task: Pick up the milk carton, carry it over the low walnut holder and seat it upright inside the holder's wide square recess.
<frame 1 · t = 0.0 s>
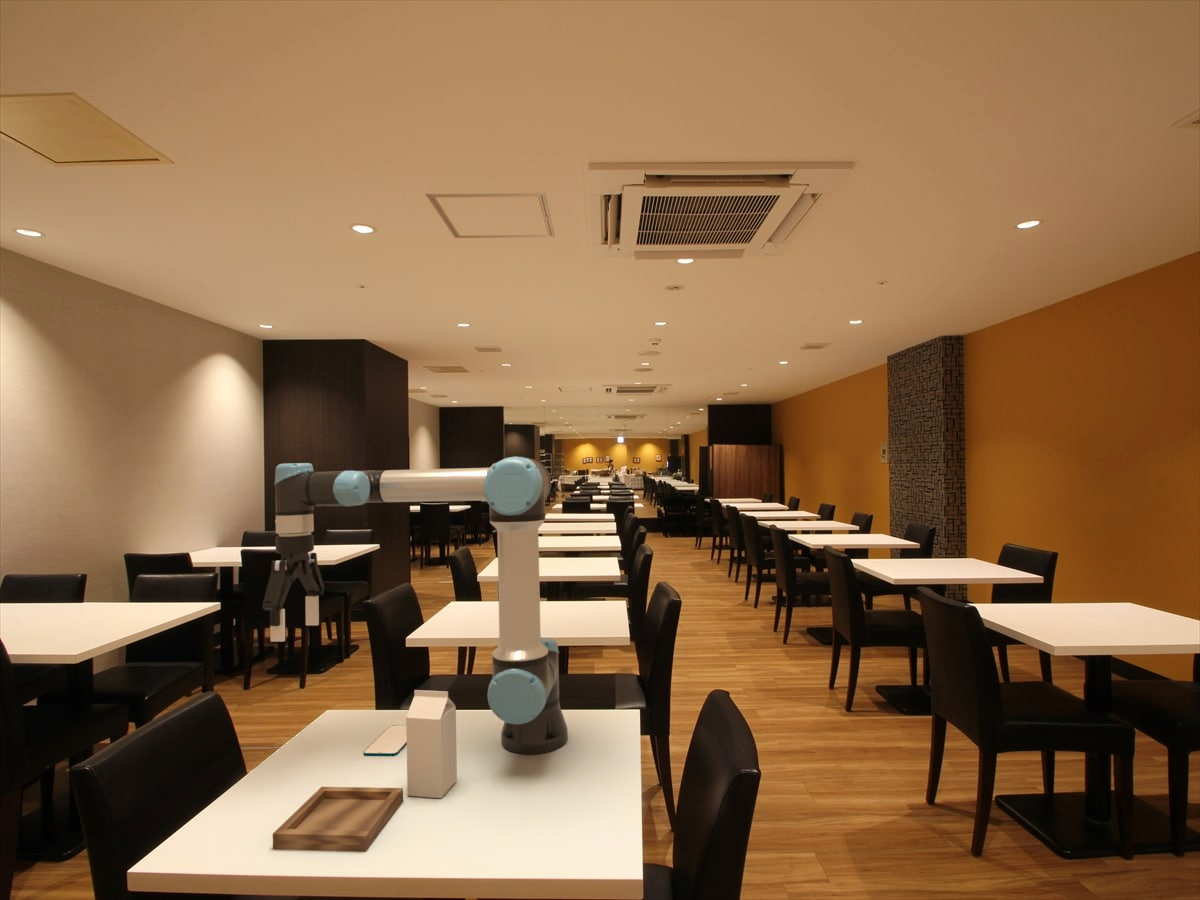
hand: (295, 632, 141), 28 cm above the table, fingers open, 13 cm apart
smartphone: (393, 743, 151), on the table
milk carton: (432, 789, 128), on the table
holder: (342, 823, 116), on the table
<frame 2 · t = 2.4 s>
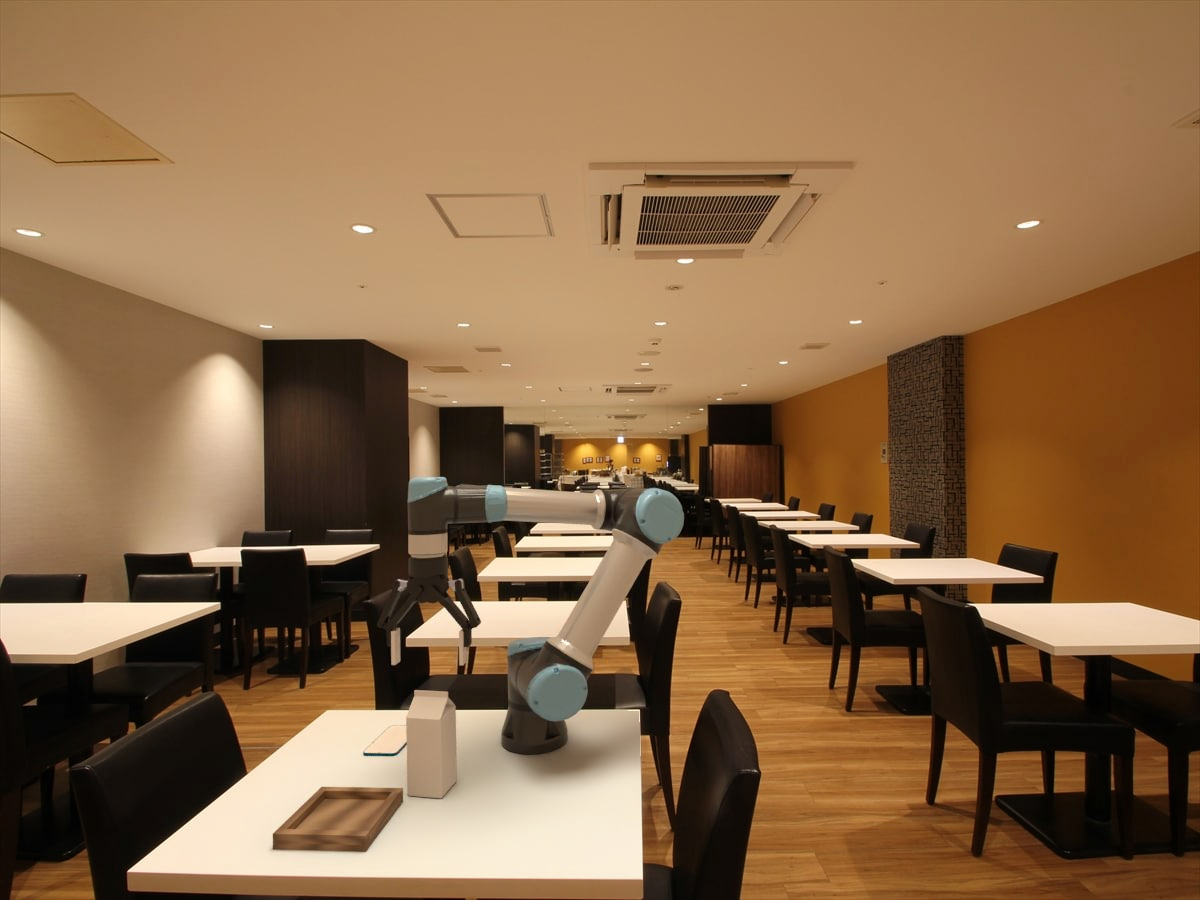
hand: (429, 663, 128), 24 cm above the table, fingers open, 13 cm apart
nothing on the table moved.
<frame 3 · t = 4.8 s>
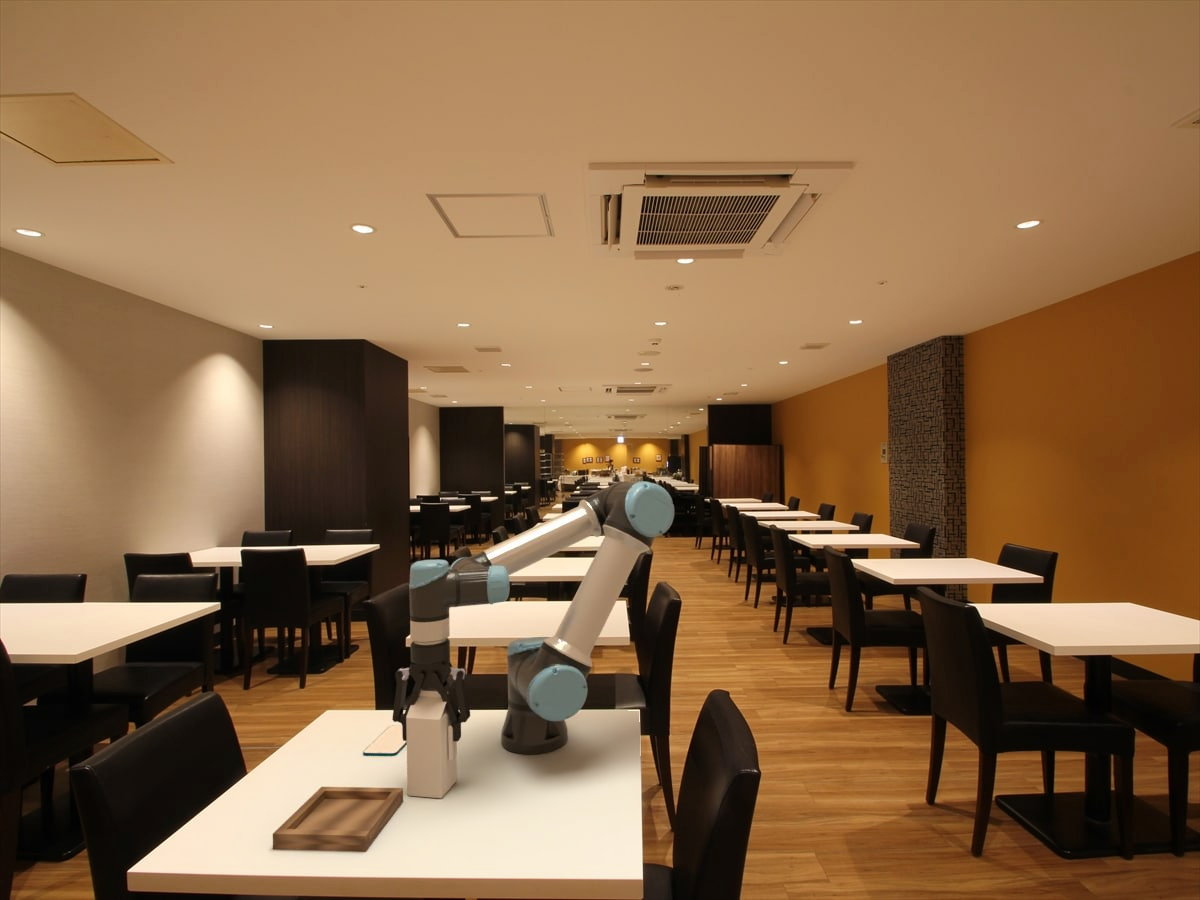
hand: (432, 756, 128), 6 cm above the table, fingers closed on milk carton, 7 cm apart
milk carton: (432, 789, 128), on the table, touching gripper
everything else where it was.
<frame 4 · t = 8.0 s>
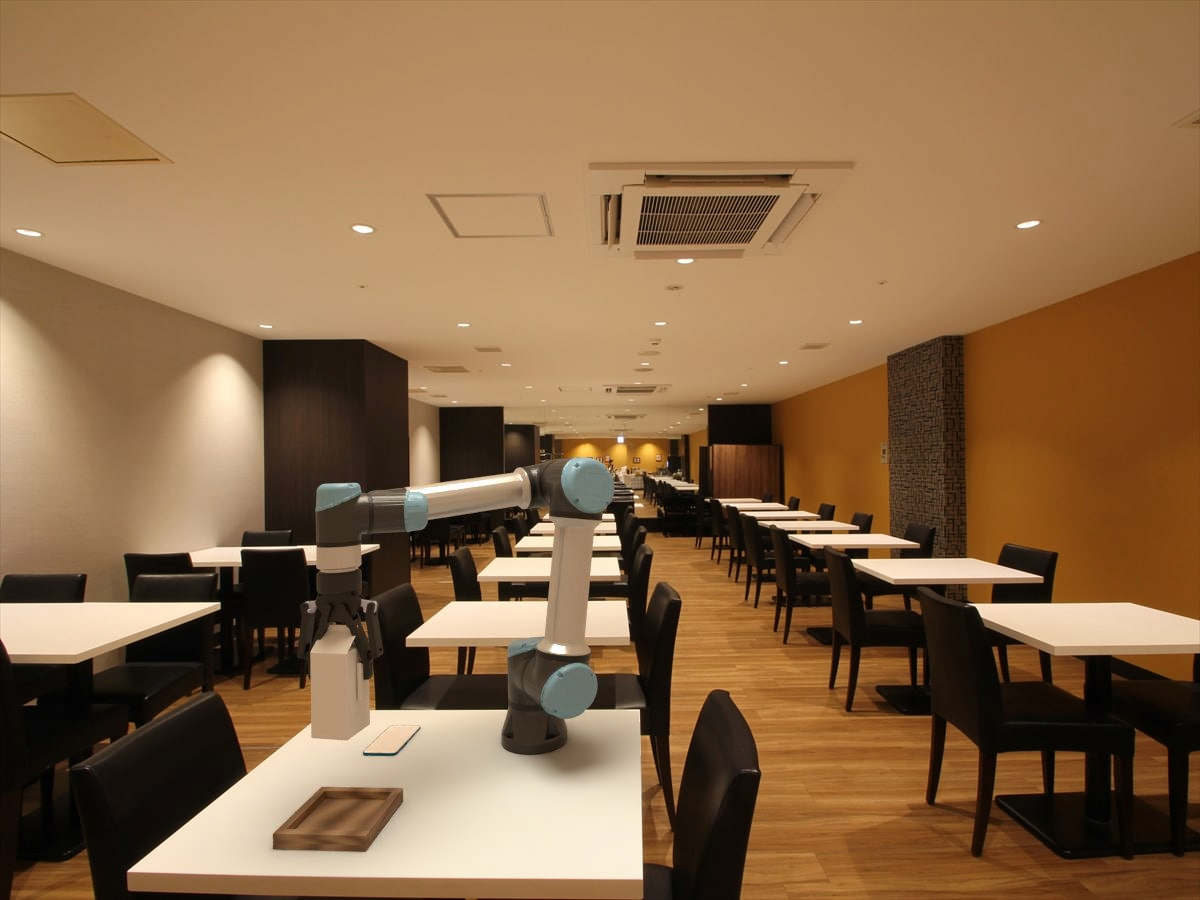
hand: (340, 697, 116), 22 cm above the table, fingers closed on milk carton, 7 cm apart
milk carton: (341, 733, 116), point 16 cm above the table, touching gripper
everything else where it was.
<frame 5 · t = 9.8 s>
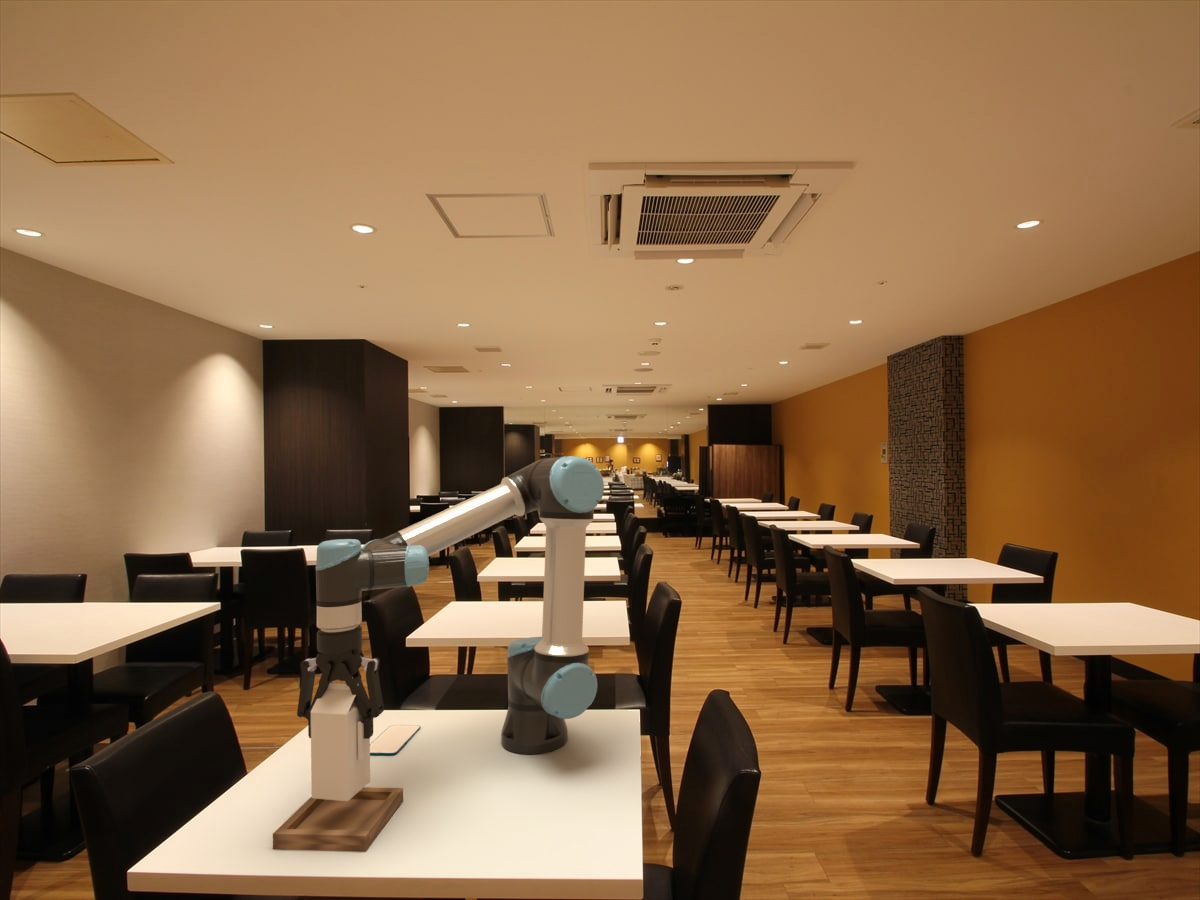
hand: (341, 755, 116), 12 cm above the table, fingers closed on milk carton, 7 cm apart
milk carton: (341, 791, 116), point 6 cm above the table, touching gripper
everything else where it was.
when the fingers open (8 cm above the table, at t = 11.3 s): milk carton stays where it is, resting on holder.
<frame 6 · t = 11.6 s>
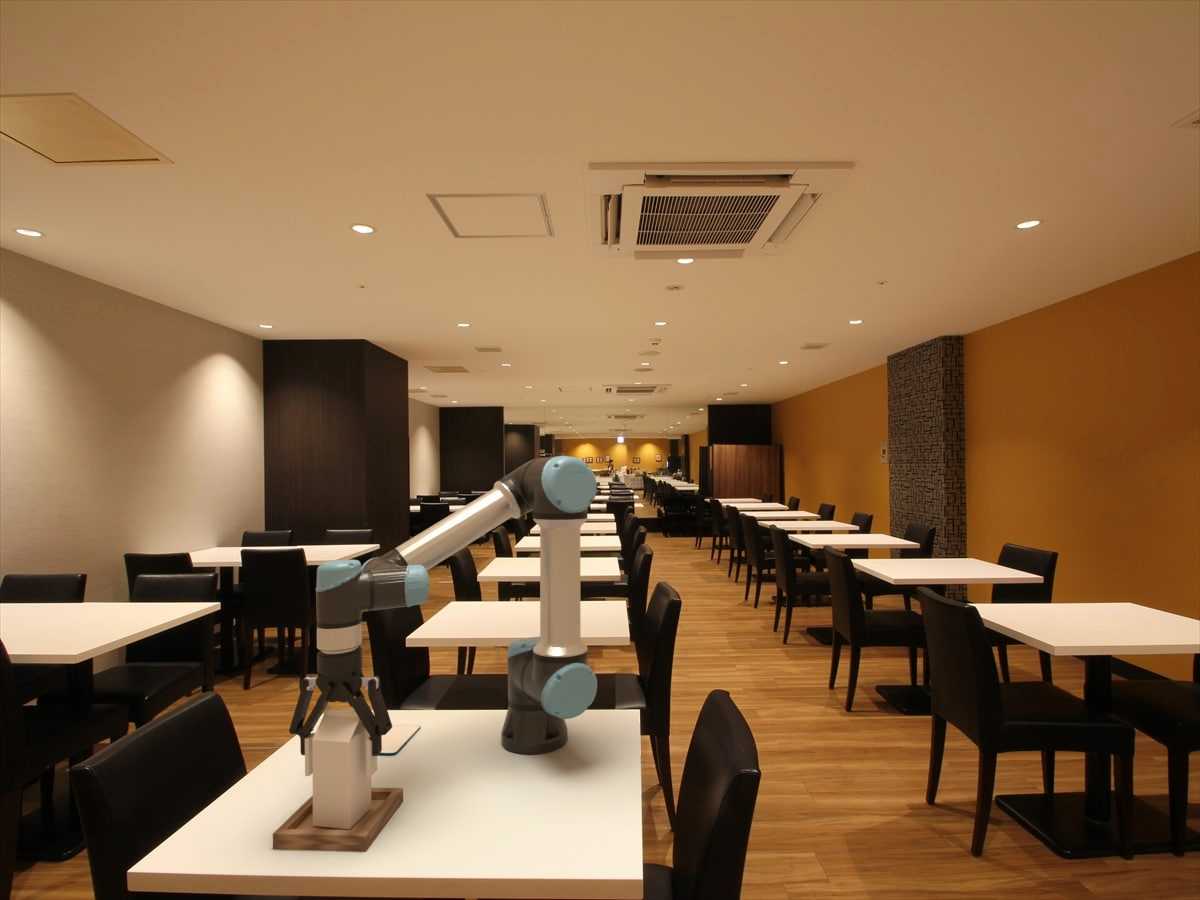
hand: (341, 773, 116), 9 cm above the table, fingers open, 10 cm apart
milk carton: (342, 818, 116), point 1 cm above the table, touching holder
everything else where it was.
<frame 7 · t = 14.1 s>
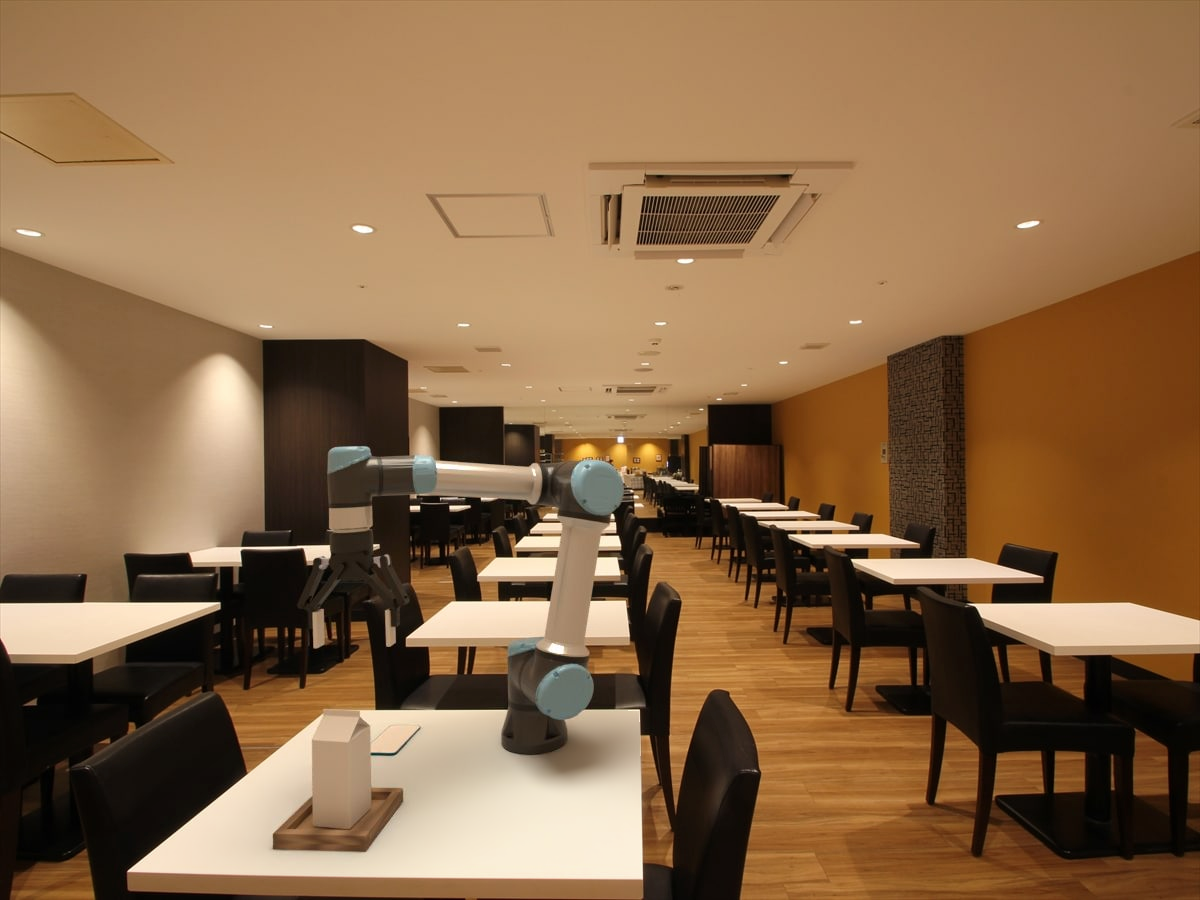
hand: (355, 645, 120), 30 cm above the table, fingers open, 13 cm apart
nothing on the table moved.
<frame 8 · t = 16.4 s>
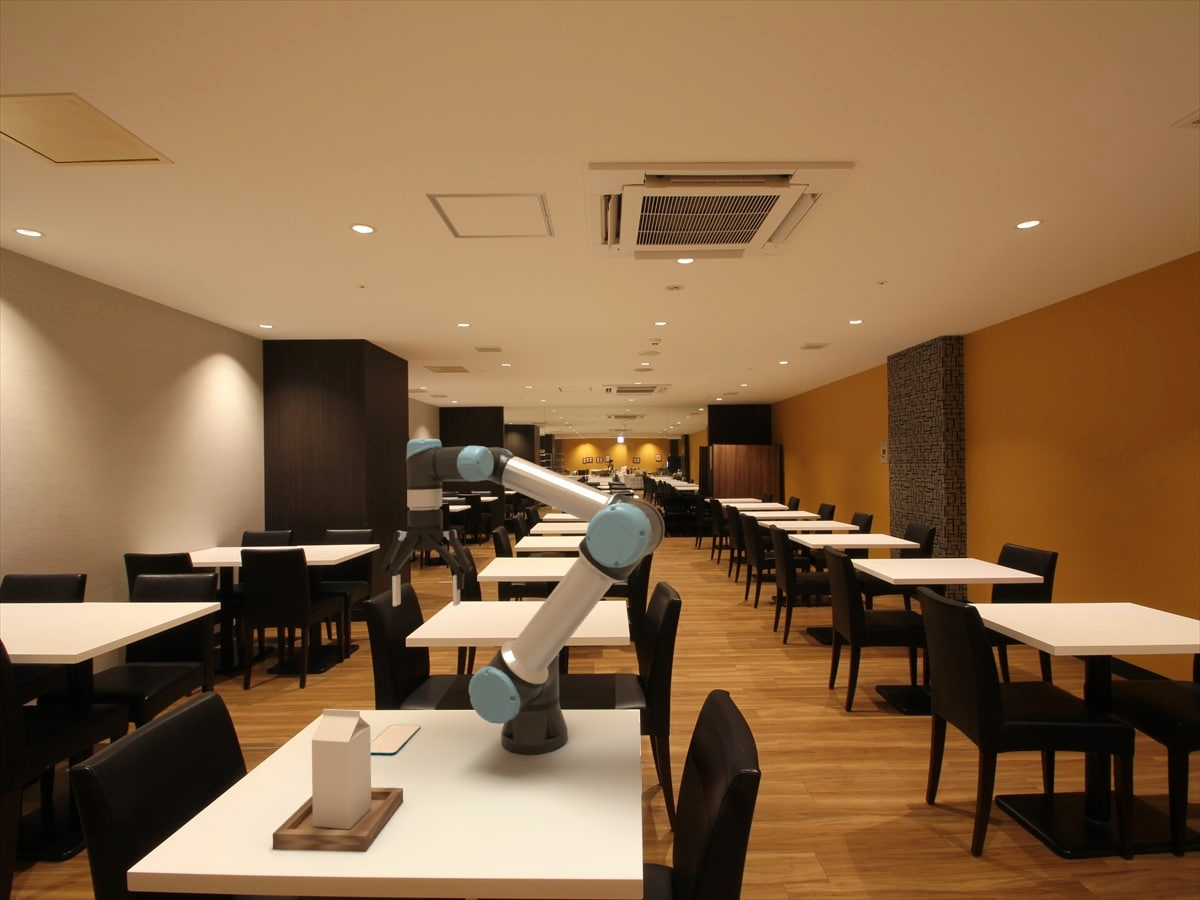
hand: (426, 604, 144), 33 cm above the table, fingers open, 13 cm apart
nothing on the table moved.
at the end: milk carton inside the target area on the holder (0.1 cm from its centre), point 0.8 cm above the holder's base; milk carton tilted 0°; the gripper is holding nothing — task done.
